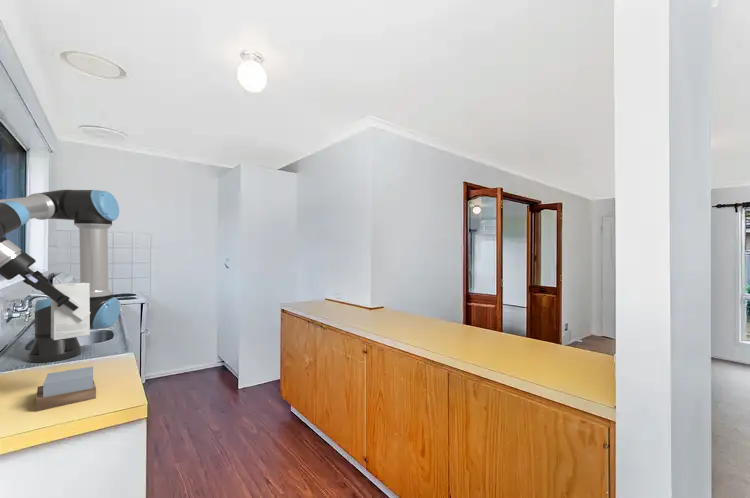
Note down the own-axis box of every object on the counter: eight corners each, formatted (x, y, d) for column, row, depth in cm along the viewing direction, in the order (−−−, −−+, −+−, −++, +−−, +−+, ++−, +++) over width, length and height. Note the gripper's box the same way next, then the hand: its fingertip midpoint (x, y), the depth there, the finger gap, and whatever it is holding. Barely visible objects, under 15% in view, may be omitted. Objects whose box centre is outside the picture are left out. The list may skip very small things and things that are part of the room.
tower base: (37, 399, 98) (37, 386, 99) (92, 387, 107) (92, 376, 107) (36, 413, 90) (36, 400, 90) (95, 400, 98) (96, 387, 98)
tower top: (47, 385, 99) (47, 373, 99) (93, 378, 105) (93, 366, 105) (43, 397, 91) (43, 384, 91) (92, 388, 97) (92, 375, 97)
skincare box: (86, 333, 108) (87, 282, 108) (90, 336, 103) (91, 283, 104) (48, 337, 101) (50, 283, 102) (52, 340, 97) (53, 284, 98)
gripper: (-2, 269, 100) (72, 320, 110) (-11, 271, 85) (75, 329, 96) (25, 251, 104) (94, 302, 114) (20, 250, 89) (100, 308, 100)
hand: (85, 314), depth 105 cm, fingers closed on skincare box, 7 cm apart
